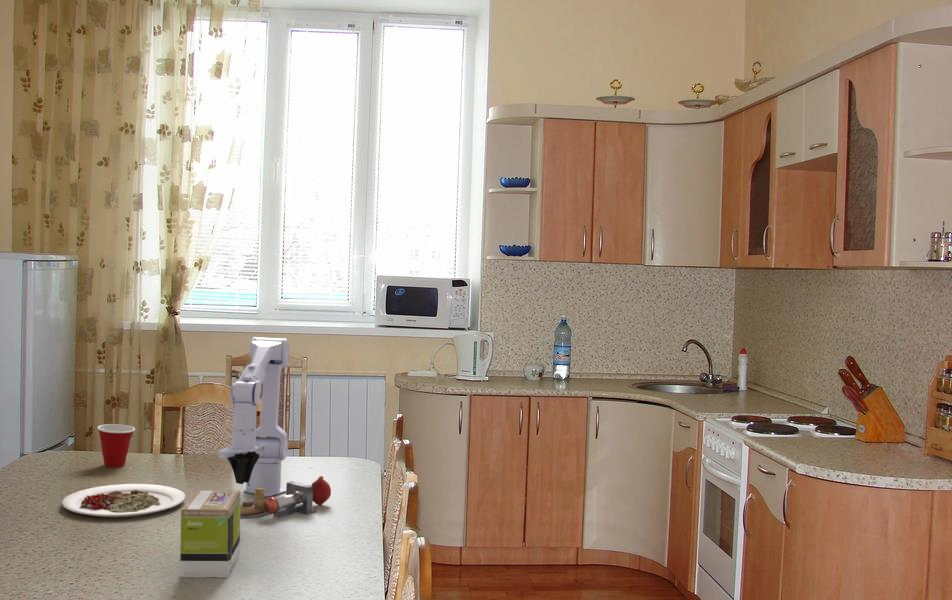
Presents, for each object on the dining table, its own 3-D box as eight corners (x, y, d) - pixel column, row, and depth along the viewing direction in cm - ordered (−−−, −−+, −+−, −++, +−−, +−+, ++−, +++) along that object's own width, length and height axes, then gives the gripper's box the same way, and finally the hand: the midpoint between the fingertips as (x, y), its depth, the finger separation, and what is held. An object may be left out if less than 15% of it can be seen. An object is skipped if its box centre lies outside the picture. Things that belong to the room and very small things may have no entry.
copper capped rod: (263, 512, 232) (263, 496, 232) (299, 502, 243) (300, 486, 243) (274, 515, 229) (275, 499, 229) (311, 505, 241) (312, 489, 240)
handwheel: (219, 509, 235) (220, 486, 235) (248, 502, 243) (249, 479, 243) (247, 517, 229) (248, 493, 229) (276, 509, 238) (277, 486, 238)
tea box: (194, 554, 202) (196, 488, 201) (240, 555, 203) (242, 489, 202) (178, 578, 187) (180, 507, 186) (228, 579, 188) (230, 508, 187)
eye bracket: (264, 513, 235) (265, 487, 235) (291, 505, 244) (292, 480, 243) (289, 520, 230) (290, 493, 230) (316, 512, 239) (317, 486, 238)
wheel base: (213, 511, 235) (213, 510, 235) (248, 502, 245) (248, 501, 245) (246, 520, 228) (246, 519, 228) (280, 510, 238) (281, 509, 238)
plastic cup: (125, 470, 273) (127, 430, 273) (90, 468, 273) (91, 429, 273) (139, 462, 284) (140, 424, 284) (105, 460, 284) (106, 422, 284)
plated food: (206, 508, 239) (207, 495, 239) (93, 529, 217) (94, 515, 217) (151, 485, 259) (151, 473, 259) (42, 502, 237) (42, 489, 237)
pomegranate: (325, 509, 242) (326, 479, 241) (305, 507, 243) (306, 477, 242) (333, 503, 247) (334, 474, 247) (313, 501, 248) (314, 472, 248)
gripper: (233, 435, 220) (231, 490, 220) (276, 427, 232) (274, 480, 233) (213, 431, 224) (211, 485, 224) (257, 423, 236) (255, 475, 236)
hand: (242, 482), depth 229 cm, fingers closed
